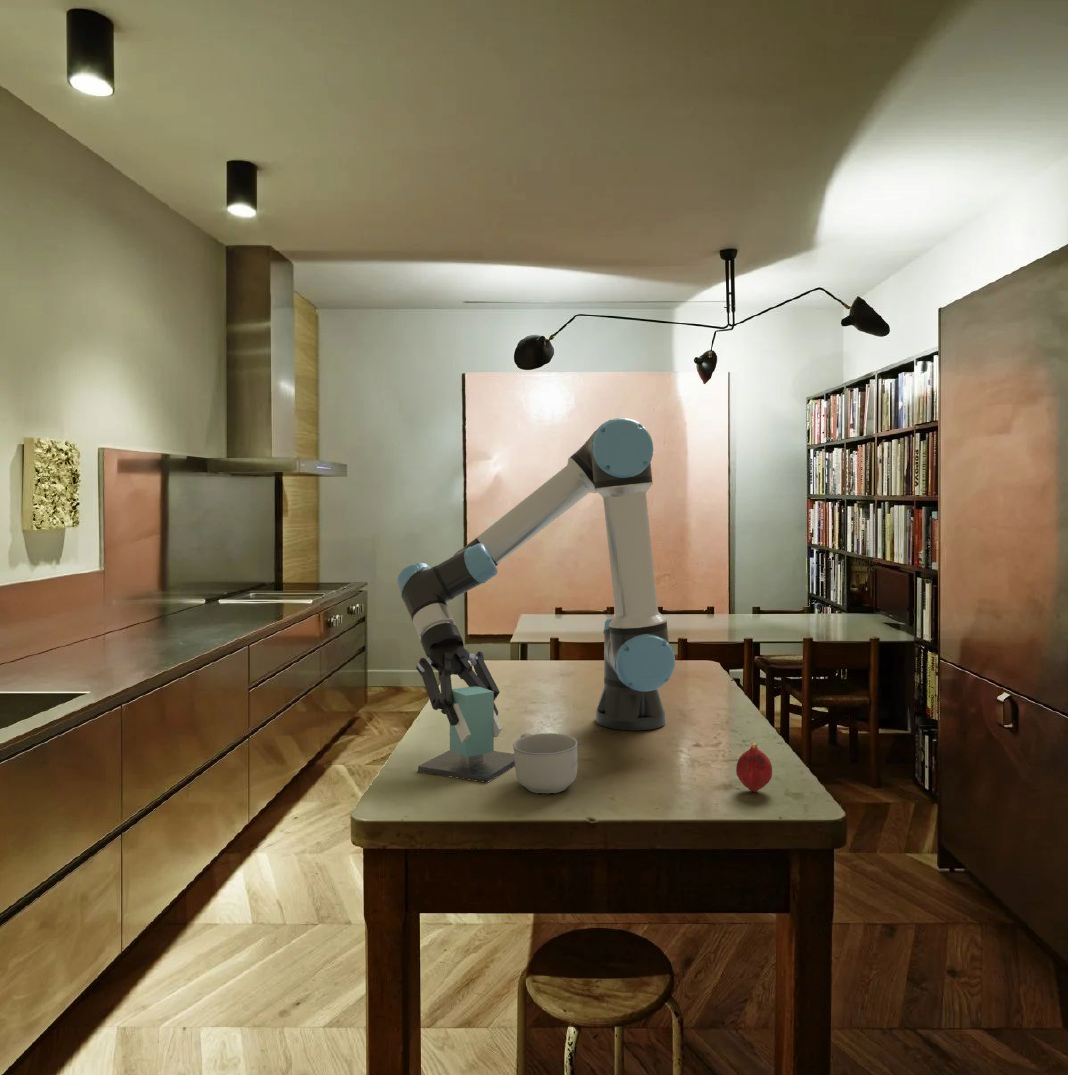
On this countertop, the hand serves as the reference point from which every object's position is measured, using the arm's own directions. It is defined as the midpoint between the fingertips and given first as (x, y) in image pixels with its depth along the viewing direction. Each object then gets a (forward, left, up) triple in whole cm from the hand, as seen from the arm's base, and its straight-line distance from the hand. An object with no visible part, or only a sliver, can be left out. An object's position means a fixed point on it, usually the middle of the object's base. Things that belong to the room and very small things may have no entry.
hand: (482, 735), depth 150 cm
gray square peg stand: (+3, -2, -6) cm, 7 cm away
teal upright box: (+3, -2, -4) cm, 5 cm away
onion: (-46, -10, -7) cm, 47 cm away
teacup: (-13, +2, -7) cm, 15 cm away
